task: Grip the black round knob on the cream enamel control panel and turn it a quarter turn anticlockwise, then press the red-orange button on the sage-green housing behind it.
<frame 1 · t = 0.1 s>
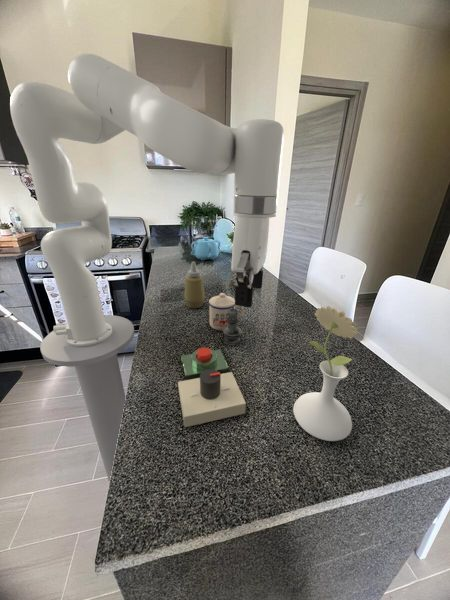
hand: (249, 295, 51), 24 cm above the kitchen counter, tool pointing down, fingers open, 9 cm apart
panel: (210, 401, 56), on the kitchen counter
button box: (204, 368, 66), on the kitchen counter
knob: (210, 383, 54), point 5 cm above the kitchen counter, hinge at 0.0°
button: (204, 354, 65), point 4 cm above the kitchen counter, slide at 0.1 cm
decorative pot: (206, 258, 163), on the kitchen counter
flower in vase: (317, 418, 53), on the kitchen counter
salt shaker: (231, 340, 78), on the kitchen counter
squeeze bottle: (195, 306, 100), on the kitchen counter
teacup with lid: (226, 324, 87), on the kitchen counter
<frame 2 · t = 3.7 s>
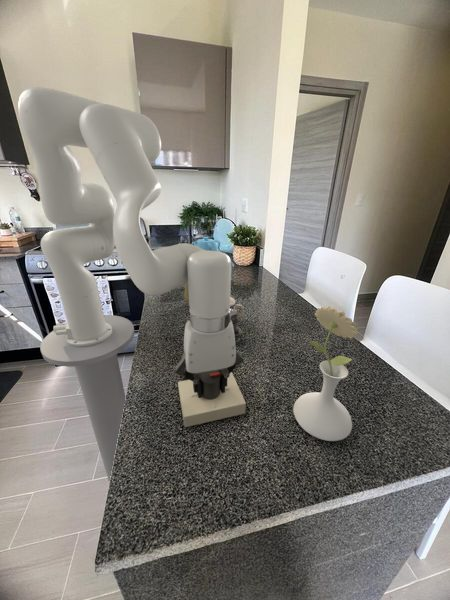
hand: (210, 390, 55), 4 cm above the kitchen counter, tool pointing down, fingers closed on knob, 4 cm apart
knob: (210, 383, 54), point 5 cm above the kitchen counter, hinge at 0.1°, touching gripper
everything else where it was.
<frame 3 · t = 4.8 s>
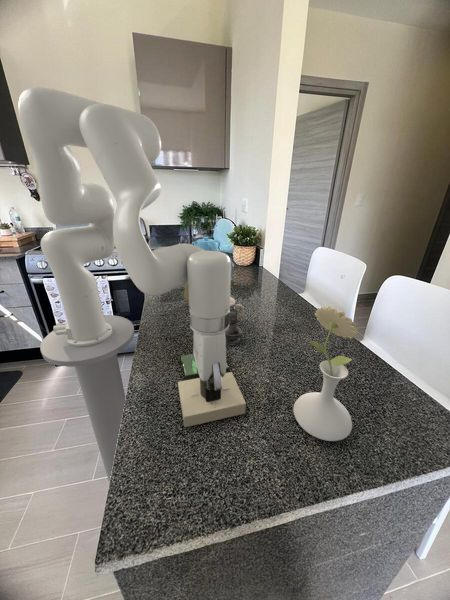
hand: (210, 390, 55), 4 cm above the kitchen counter, tool pointing down, fingers closed on knob, 4 cm apart
knob: (210, 383, 54), point 5 cm above the kitchen counter, hinge at 90.4°, touching gripper
everything else where it was.
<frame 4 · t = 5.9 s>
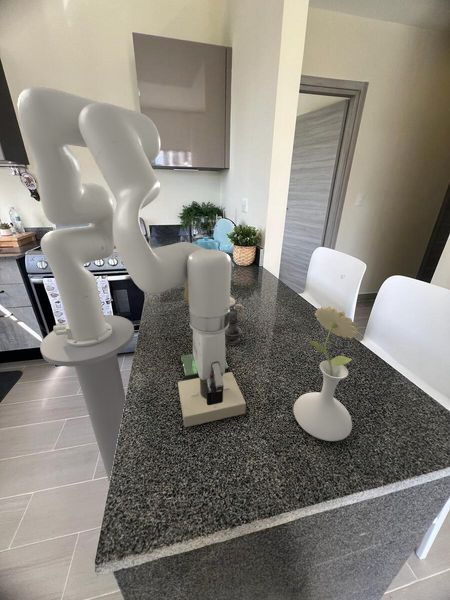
hand: (209, 385, 54), 5 cm above the kitchen counter, tool pointing down, fingers open, 9 cm apart
knob: (210, 383, 54), point 5 cm above the kitchen counter, hinge at 89.4°
everything else where it was.
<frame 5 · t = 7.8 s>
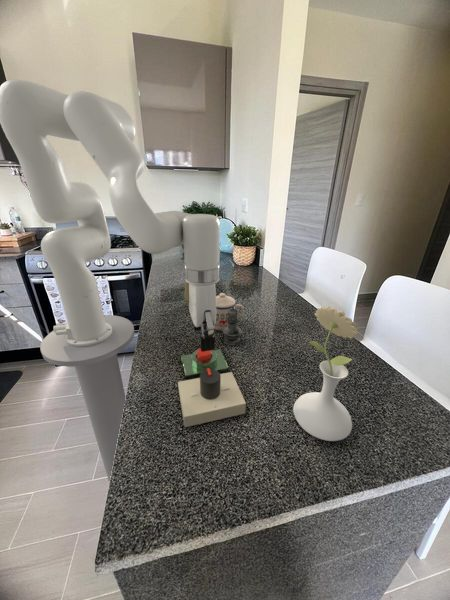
hand: (203, 339, 62), 9 cm above the kitchen counter, tool pointing down, fingers open, 8 cm apart
nothing on the kitchen counter moved.
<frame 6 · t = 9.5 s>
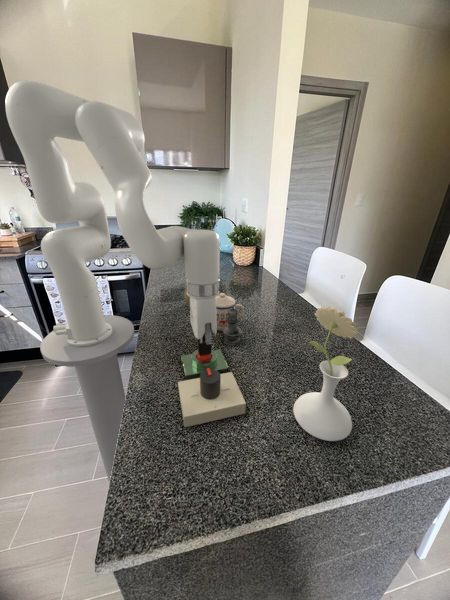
hand: (204, 352, 64), 5 cm above the kitchen counter, tool pointing down, fingers closed
button: (204, 355, 65), point 4 cm above the kitchen counter, slide at -0.3 cm, touching gripper
everything else where it was.
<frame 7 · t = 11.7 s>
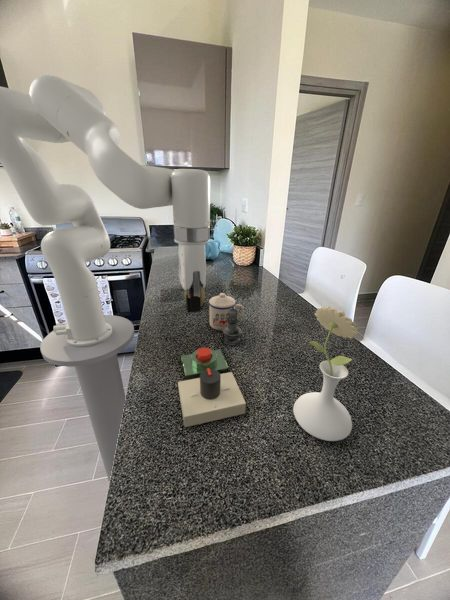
hand: (193, 310, 61), 16 cm above the kitchen counter, tool pointing down, fingers closed
button: (204, 354, 65), point 4 cm above the kitchen counter, slide at 0.1 cm
everything else where it was.
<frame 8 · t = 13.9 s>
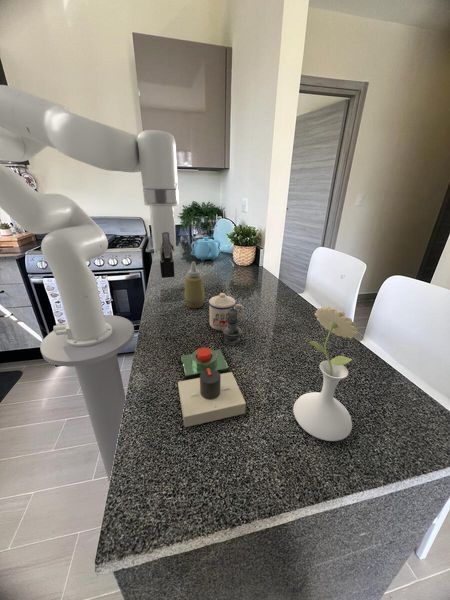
hand: (167, 276, 63), 23 cm above the kitchen counter, tool pointing down, fingers closed
nothing on the kitchen counter moved.
at the end: knob at +89° (first picture: +0°); button pushed in 1.1 cm at the most during the clip, back to where it started at the end; button slide at 0.1 cm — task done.
